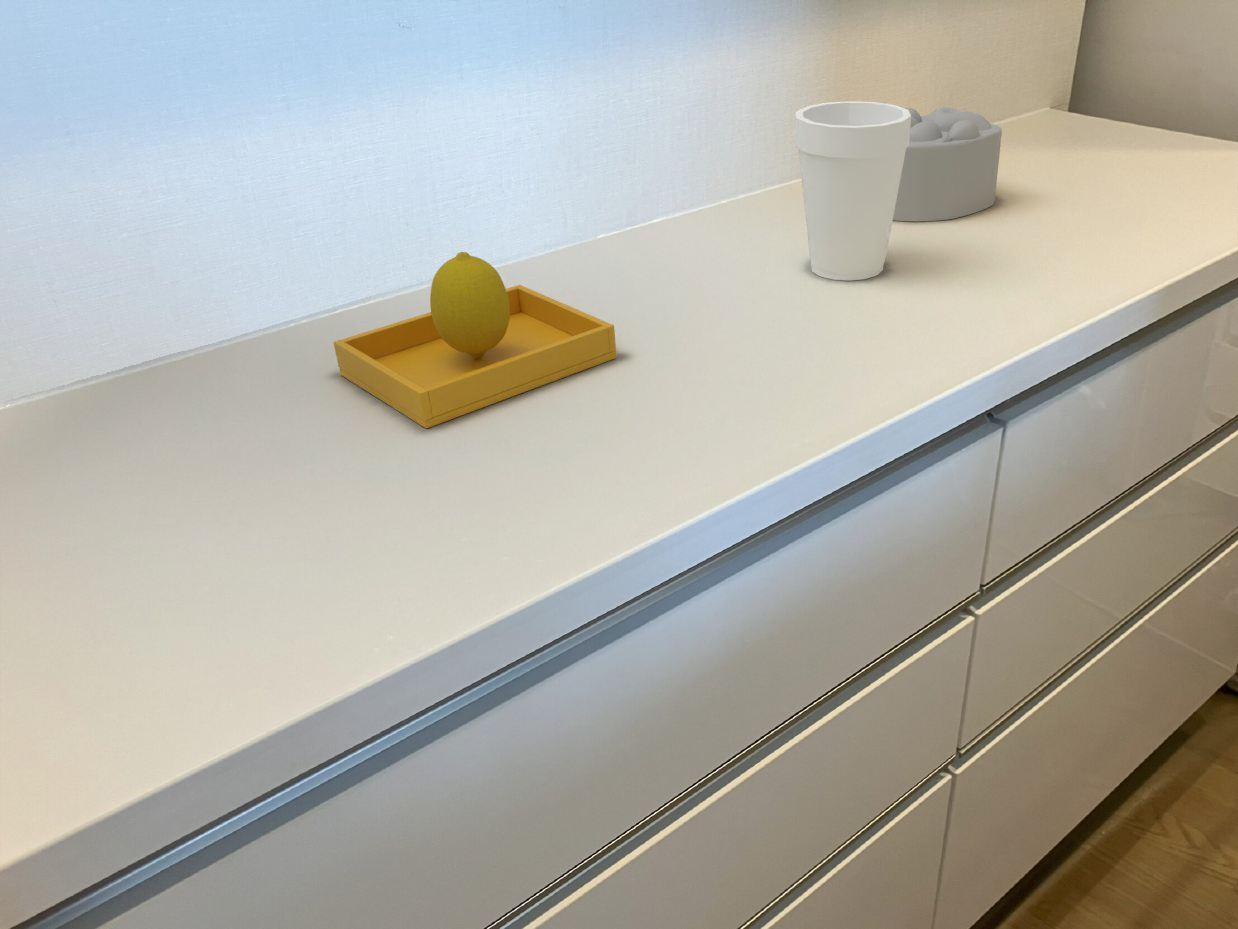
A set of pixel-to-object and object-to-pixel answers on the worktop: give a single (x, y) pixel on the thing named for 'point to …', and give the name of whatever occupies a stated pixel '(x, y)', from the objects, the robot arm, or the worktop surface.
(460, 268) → the lemon
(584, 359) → the yellow tray
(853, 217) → the foam cup
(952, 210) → the lumpy-topped squat cylinder
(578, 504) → the worktop surface
